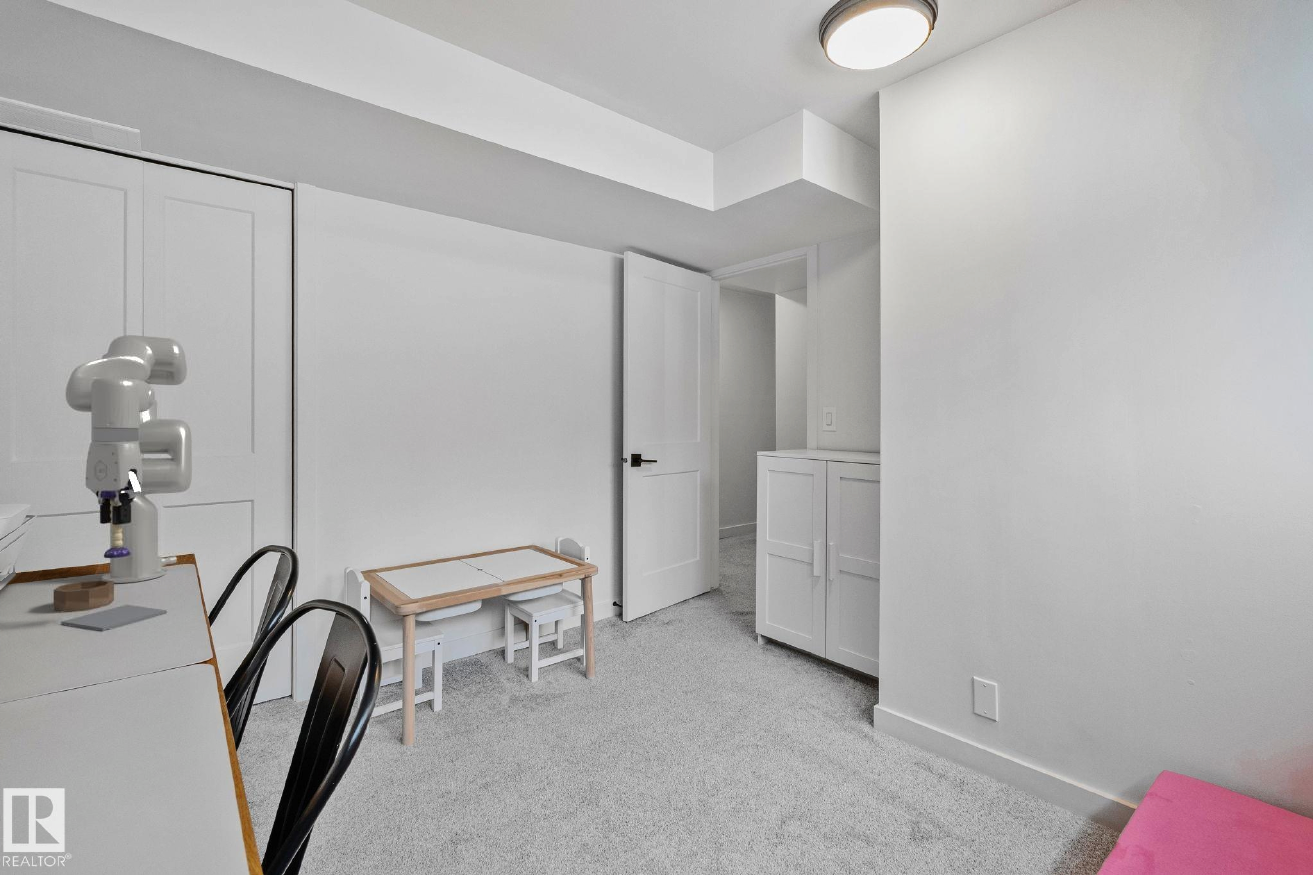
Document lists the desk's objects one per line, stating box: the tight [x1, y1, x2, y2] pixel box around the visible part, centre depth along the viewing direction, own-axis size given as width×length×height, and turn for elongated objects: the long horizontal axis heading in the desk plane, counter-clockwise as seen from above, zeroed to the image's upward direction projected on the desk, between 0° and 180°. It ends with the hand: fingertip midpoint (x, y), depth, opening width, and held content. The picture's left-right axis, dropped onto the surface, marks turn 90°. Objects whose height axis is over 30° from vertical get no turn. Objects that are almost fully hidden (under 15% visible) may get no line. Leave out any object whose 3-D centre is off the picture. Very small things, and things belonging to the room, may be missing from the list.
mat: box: [60, 604, 168, 632], centre depth 127 cm, size 12×12×1 cm
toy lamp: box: [100, 487, 130, 559], centre depth 126 cm, size 5×5×17 cm
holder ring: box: [53, 579, 115, 613], centre depth 135 cm, size 9×9×4 cm
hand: (115, 522), depth 126 cm, fingers closed on toy lamp, 2 cm apart
